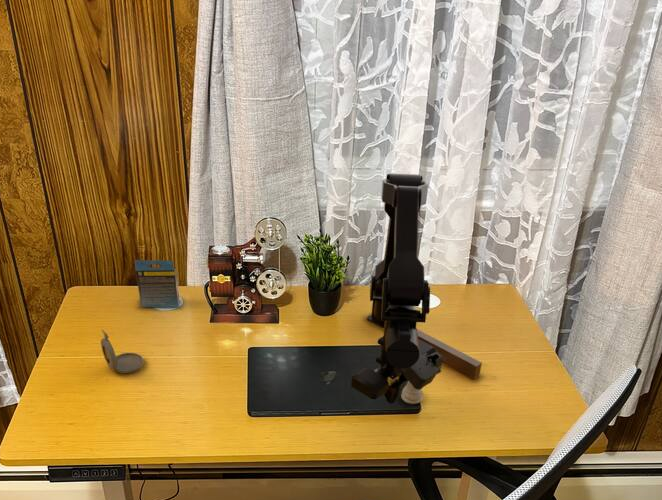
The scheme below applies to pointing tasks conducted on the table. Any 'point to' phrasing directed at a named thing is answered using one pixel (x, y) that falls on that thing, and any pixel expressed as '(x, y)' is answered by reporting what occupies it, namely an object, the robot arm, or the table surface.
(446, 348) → the walnut rail
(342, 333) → the table surface
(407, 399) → the rook chess piece
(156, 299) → the blue product box
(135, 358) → the pocket watch
